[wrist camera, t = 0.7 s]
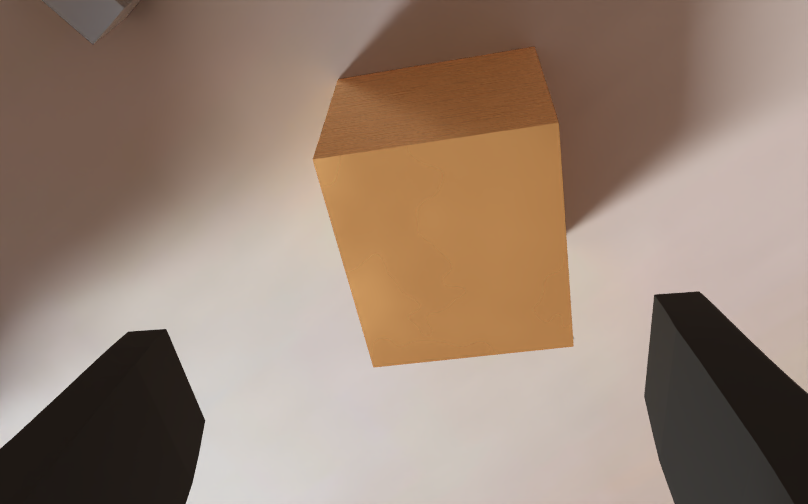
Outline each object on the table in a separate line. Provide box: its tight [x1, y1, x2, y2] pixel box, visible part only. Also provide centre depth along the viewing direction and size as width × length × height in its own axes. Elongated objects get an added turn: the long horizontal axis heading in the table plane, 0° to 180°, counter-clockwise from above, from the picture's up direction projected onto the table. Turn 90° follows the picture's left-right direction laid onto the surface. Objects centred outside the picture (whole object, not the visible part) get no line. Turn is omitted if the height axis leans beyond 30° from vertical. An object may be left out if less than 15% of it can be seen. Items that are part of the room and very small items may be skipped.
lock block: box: [313, 47, 573, 367], centre depth 18 cm, size 6×5×4 cm
